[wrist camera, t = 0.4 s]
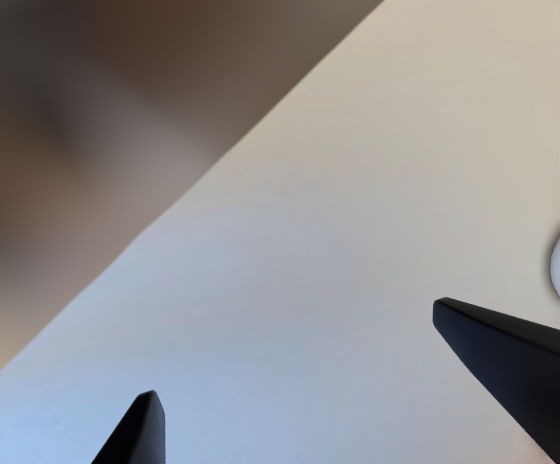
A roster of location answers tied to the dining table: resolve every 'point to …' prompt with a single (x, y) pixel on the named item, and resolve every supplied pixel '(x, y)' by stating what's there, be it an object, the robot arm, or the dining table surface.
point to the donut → (556, 267)
